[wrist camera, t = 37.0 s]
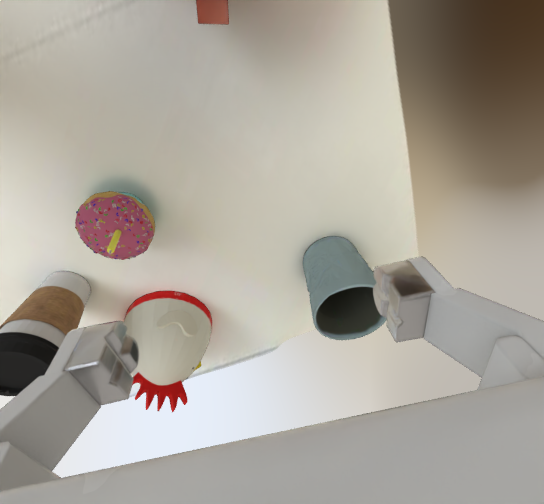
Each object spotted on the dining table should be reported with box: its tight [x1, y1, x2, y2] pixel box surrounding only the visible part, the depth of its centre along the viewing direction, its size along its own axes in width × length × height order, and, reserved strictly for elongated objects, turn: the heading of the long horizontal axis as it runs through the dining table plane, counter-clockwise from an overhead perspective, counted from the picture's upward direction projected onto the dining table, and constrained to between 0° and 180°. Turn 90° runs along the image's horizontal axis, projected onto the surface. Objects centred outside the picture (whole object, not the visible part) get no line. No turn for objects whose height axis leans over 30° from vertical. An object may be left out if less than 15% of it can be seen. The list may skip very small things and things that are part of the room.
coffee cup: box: [0, 271, 91, 396], centre depth 40 cm, size 8×8×15 cm
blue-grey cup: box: [303, 236, 387, 340], centre depth 44 cm, size 10×10×12 cm
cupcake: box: [75, 191, 155, 260], centre depth 35 cm, size 9×8×12 cm
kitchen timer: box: [124, 291, 212, 412], centre depth 46 cm, size 14×14×15 cm
